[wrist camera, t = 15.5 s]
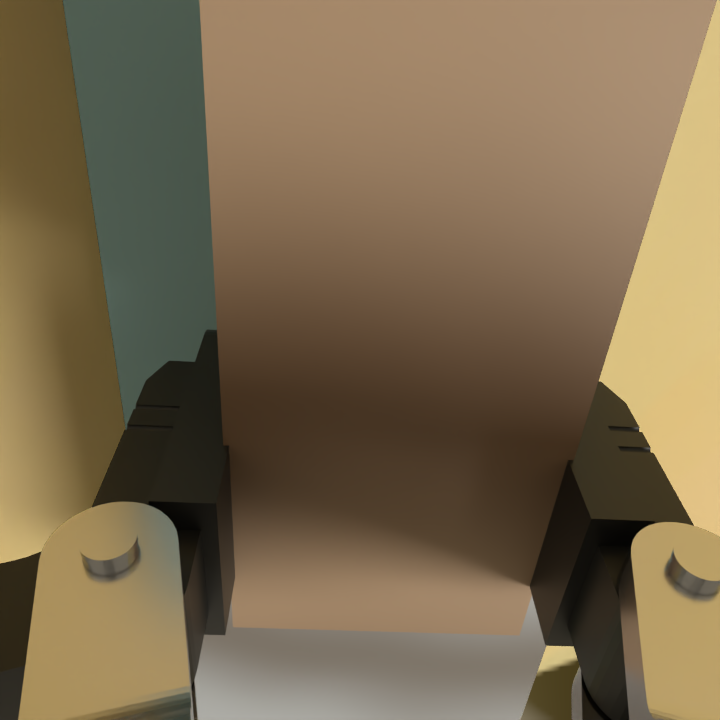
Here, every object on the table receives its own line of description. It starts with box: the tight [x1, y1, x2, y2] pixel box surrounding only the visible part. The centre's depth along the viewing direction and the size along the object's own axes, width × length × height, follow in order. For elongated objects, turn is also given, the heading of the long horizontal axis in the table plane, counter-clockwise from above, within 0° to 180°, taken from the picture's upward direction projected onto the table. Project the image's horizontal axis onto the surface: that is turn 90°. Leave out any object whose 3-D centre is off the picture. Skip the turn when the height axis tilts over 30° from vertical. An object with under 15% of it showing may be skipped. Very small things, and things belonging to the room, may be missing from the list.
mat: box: [63, 0, 217, 430], centre depth 13 cm, size 24×10×1 cm, turn 176°
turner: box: [195, 0, 717, 720], centre depth 11 cm, size 16×8×4 cm, turn 176°
